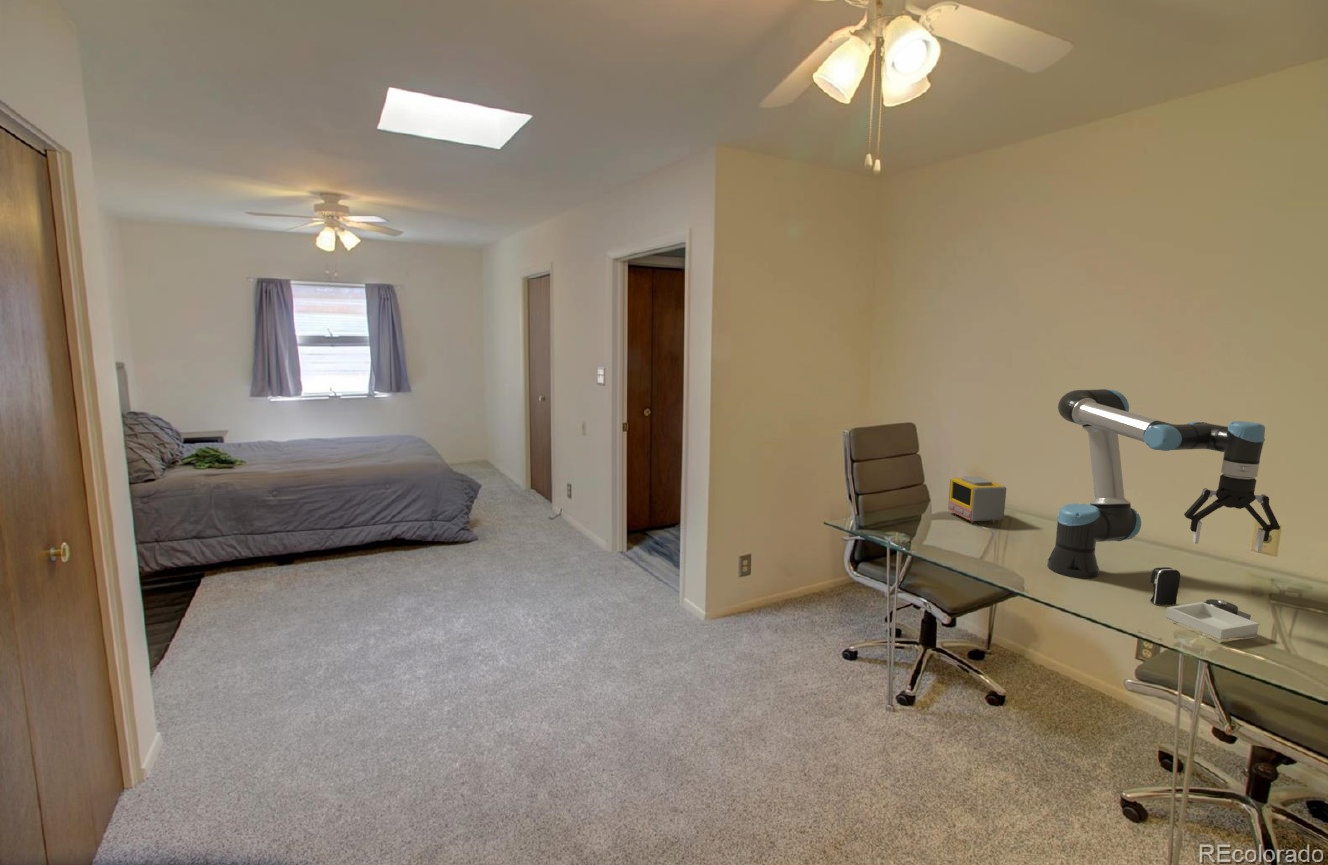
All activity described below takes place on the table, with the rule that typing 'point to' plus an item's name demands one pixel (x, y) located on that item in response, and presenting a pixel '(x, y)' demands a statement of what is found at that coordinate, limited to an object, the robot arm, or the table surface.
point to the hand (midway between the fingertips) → (1225, 546)
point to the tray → (1212, 621)
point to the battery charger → (1165, 585)
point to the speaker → (1227, 607)
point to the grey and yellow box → (977, 499)
